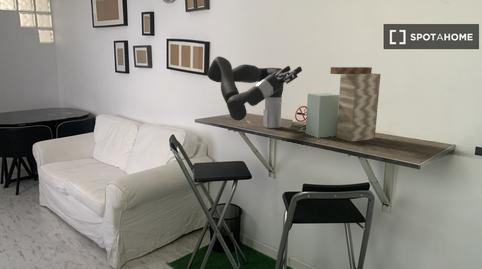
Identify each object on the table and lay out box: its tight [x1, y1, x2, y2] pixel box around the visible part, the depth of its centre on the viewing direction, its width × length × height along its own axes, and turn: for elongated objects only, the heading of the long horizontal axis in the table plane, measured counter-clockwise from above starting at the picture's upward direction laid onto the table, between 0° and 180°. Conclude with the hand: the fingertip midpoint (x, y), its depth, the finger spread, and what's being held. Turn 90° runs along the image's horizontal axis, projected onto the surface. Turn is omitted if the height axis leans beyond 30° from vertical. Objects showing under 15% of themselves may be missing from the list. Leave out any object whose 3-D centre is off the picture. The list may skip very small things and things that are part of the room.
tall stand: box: [335, 72, 382, 142], centre depth 186 cm, size 16×10×32 cm, turn 117°
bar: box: [329, 66, 373, 75], centre depth 180 cm, size 22×4×3 cm, turn 117°
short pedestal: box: [305, 92, 339, 139], centre depth 193 cm, size 12×10×21 cm
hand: (295, 67), depth 165 cm, fingers open, 8 cm apart
